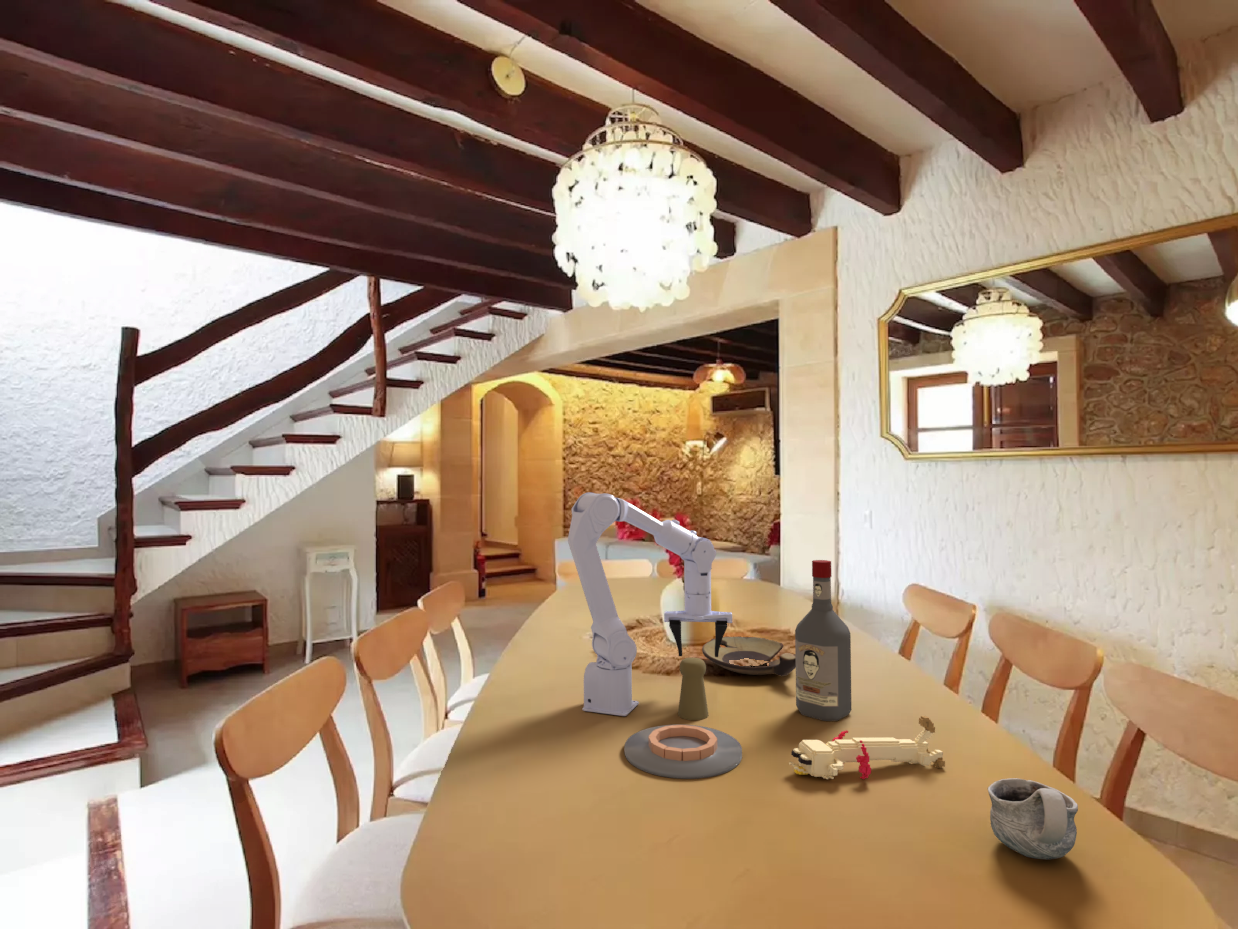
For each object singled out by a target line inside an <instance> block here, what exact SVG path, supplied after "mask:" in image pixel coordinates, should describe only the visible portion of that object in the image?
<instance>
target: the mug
mask: <svg viewBox="0 0 1238 929" xmlns="http://www.w3.org/2000/svg"><path fill="white" fill-rule="evenodd" d="M987 792H988V795H989V798H990V801H991V808H990V812H989V813H990V815H989V817H990V828H991V830H992V832H993V834H994V836H995V837H996V838H997V839H998V840H999V841H1000V842H1001V843H1002V844H1003V845H1005V846H1006V847H1007V848H1009V849H1010V850H1013V851H1014V852H1016V853H1018V854H1020V855H1021V856H1024V857H1027V858H1032V859H1039V860H1054V859H1061V858H1063V857H1065V856H1066V855H1067V854H1069V853H1070V852H1071V851H1072V849H1073V848H1074V846H1075V844H1076V839H1077V833H1078V831H1077V830H1078V829H1077V825H1076V823H1075V816H1076V814H1077V813H1078V811H1079V804H1078V803H1077V802H1076V801H1075V799H1073V798H1072V797H1071V796H1069V795H1067V794H1066V793H1063V792H1062V791H1060V790H1059V789H1057V788H1054V787H1051V786H1049V785H1046V784H1044V783H1042V782H1038V781H1036V780H1035V781H1034V780H1031V779H1028V780H1027V779H1025V778H1024V779H1023V778H1016V777H1015V778H1001V779H999V780H996V781H994V782H992V783H991V784H990V785H988V787H987Z"/></svg>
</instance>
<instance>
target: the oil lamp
mask: <svg viewBox="0 0 1238 929" xmlns="http://www.w3.org/2000/svg"><path fill="white" fill-rule="evenodd" d="M722 646H723V647H722ZM783 648H784V644H783V643H782V642H778V641H776V640H773V639H768V638H765V637H756V636H749V637H748V636H723V638H722V641H721V644H720V648H719V653H718V657H715V638H712V639H711V640H709V641H707V642H706V643H705V644H703V645H702V650H701V651H702V654H703V656H704V657H705V658H706V659H708V661H711V662H712V663H713V664H715V665H717V666H719V667H721V668H723V669H726V670H728V671H731V672H734V673H736V674H742V675H747V676H748V675H750V676H762V675H771V674H772V675H776V676H779V677H786V676H788V675H790V673H792V672H793V671H794V670H796V656H795V653H791V652H786V653H785V652H784V653H782V654H780V655H779V658H778V659H775V660H773V659H774V658H775V657H776V656H777V655H778V654H779V653H780V651H782V650H783ZM744 658H749V659H755V660H764V661H769V662H768V663H769V666H766V665H761V666H755V667H753V666H752V667H751V666H739V665H734V664H730V663H729V660H740V659H744ZM771 660H772V661H771Z"/></svg>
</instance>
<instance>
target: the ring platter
mask: <svg viewBox="0 0 1238 929" xmlns="http://www.w3.org/2000/svg"><path fill="white" fill-rule="evenodd" d="M624 756H625V759H626V760H627V761H628V763H629V764H630V765H632V766H633V767H635V768H636V769H638V770H640V771H643V772H645V773H648V774H651V775H655V776H658V777H663V778H670V779H681V780H682V779H683V780H688V779H689V780H690V779H691V780H692V779H693V780H694V779H695V780H696V779H704V778H711V777H717V776H719V775H723V774H725V773H728V772H730V771H732V770H733V769H735V768H736V767H737V766H739V765H740V763H741V762H742V759H743V747H742V744H740V742H739V741H738V740H737V739H736V738H734V737H733V736H732V735H730V734H728V733H726V732H723V731H722V730H718V729H714V728H711V727H706V726H702V725H697V724H695V725H693V724H665V725H663V724H662V725H657V726H651V727H648V728H645V729H641V730H639V731H637V732H635V733H633V734H632V735H630V736H629V737H628V738H627V740H626V741H625V743H624Z"/></svg>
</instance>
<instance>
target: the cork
mask: <svg viewBox="0 0 1238 929" xmlns="http://www.w3.org/2000/svg"><path fill="white" fill-rule="evenodd" d="M706 670H707V665H706V662H705V661H704V660H703V659H702V658H699V657H686V658H683V659H682V660H681V661H680V663H679V673H680V674H681V676H682V677H681V686H680V693H679V702H678V711H677V714H678V715H677V716H678V717H680V718H681V719H684V720H687V721H688V720H689V721H700V720H701V721H702V720H705V719H707V718H708V717H709V709H708V704H707V703H708V702H707V695H706V688H705V680H704V676H705V674H706Z"/></svg>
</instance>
